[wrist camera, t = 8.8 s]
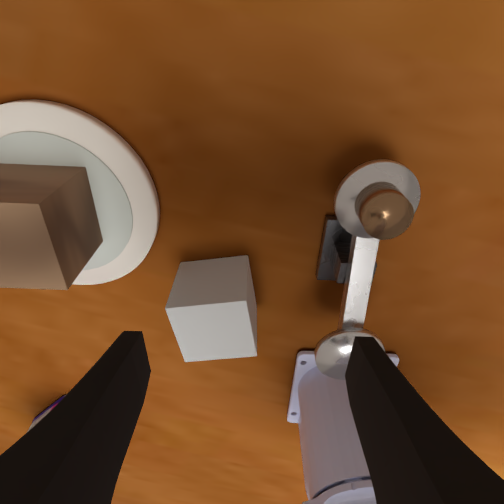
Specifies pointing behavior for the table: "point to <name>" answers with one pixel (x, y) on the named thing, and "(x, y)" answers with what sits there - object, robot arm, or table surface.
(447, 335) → the table surface
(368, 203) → the balance
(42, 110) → the dish
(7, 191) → the walnut block
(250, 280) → the grey block
